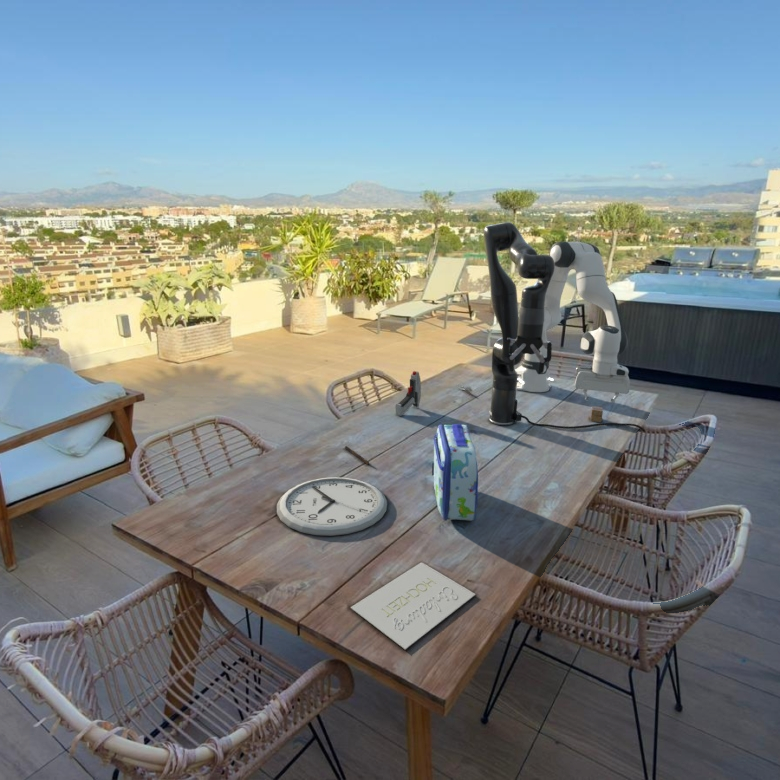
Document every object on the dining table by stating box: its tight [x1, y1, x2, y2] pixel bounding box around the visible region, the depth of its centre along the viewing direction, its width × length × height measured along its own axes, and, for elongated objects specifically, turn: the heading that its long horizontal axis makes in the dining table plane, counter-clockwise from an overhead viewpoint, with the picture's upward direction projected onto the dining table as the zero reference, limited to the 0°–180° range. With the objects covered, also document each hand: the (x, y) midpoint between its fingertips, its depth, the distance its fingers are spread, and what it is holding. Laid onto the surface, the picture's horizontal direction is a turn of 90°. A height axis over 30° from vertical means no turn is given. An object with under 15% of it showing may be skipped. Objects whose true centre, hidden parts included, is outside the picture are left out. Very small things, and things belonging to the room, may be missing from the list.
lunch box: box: [431, 423, 479, 522], centre depth 142 cm, size 26×11×21 cm, turn 179°
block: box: [590, 406, 604, 423], centre depth 210 cm, size 5×4×5 cm
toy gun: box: [395, 370, 422, 417], centre depth 214 cm, size 2×16×15 cm
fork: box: [457, 383, 474, 397], centre depth 243 cm, size 3×16×2 cm, turn 15°
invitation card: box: [350, 562, 476, 651], centre depth 106 cm, size 21×1×15 cm
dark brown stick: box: [344, 445, 370, 465], centre depth 173 cm, size 15×1×1 cm, turn 34°
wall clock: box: [276, 476, 388, 537], centre depth 142 cm, size 30×2×30 cm
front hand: (526, 372), depth 166 cm, fingers open, 8 cm apart
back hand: (599, 401), depth 208 cm, fingers open, 8 cm apart
